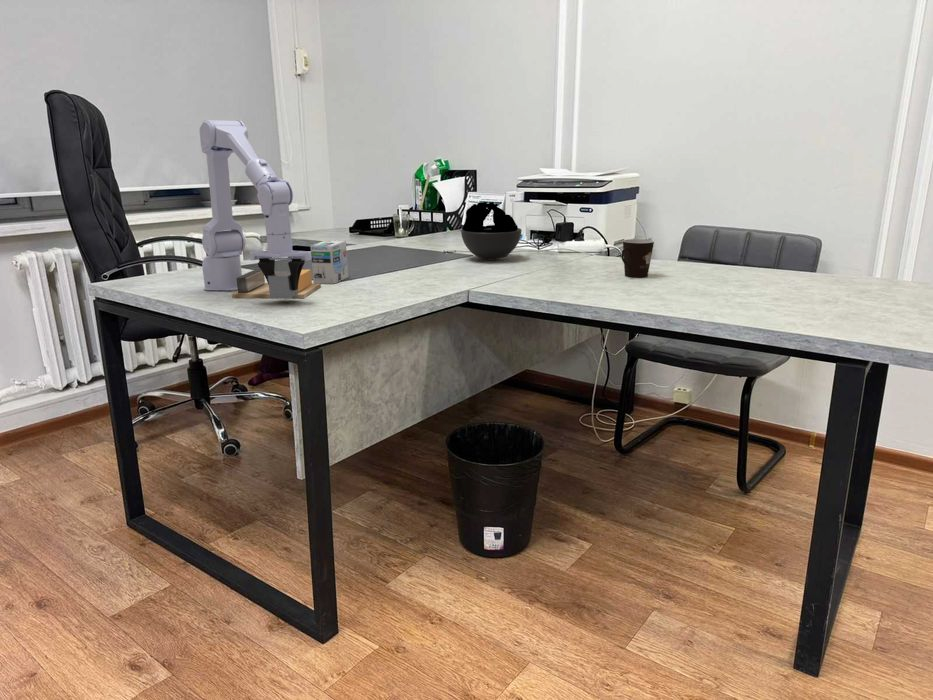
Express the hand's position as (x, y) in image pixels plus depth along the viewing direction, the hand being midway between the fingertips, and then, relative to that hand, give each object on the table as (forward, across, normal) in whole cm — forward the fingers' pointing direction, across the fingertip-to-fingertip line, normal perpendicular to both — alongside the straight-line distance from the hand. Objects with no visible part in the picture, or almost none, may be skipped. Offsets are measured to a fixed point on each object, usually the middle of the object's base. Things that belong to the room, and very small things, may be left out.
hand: (284, 289), depth 161 cm
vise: (+3, -7, +12) cm, 14 cm away
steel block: (+2, 0, 0) cm, 2 cm away
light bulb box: (+4, +3, +29) cm, 29 cm away
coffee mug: (+3, +89, +37) cm, 96 cm away
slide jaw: (+2, 0, +12) cm, 12 cm away
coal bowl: (+3, +47, +66) cm, 81 cm away
